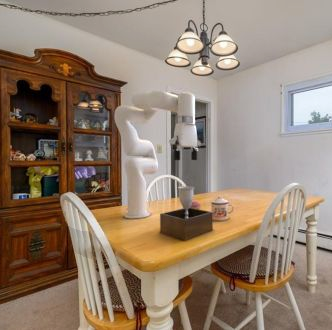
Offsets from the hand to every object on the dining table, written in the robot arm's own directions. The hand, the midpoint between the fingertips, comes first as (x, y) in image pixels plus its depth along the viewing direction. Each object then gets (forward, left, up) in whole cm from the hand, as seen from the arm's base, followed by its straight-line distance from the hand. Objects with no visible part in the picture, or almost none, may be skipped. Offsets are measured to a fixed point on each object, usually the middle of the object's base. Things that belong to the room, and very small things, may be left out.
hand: (186, 160), depth 100 cm
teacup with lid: (+3, +22, -31) cm, 38 cm away
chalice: (+4, -3, -30) cm, 30 cm away
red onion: (-15, +18, -31) cm, 38 cm away
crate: (+4, -3, -31) cm, 31 cm away
